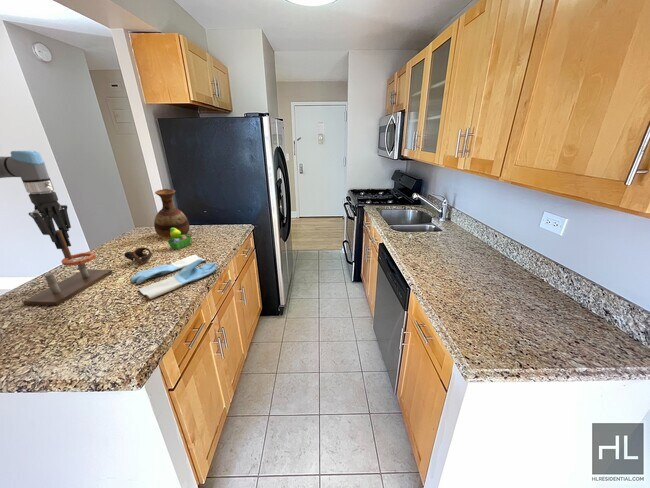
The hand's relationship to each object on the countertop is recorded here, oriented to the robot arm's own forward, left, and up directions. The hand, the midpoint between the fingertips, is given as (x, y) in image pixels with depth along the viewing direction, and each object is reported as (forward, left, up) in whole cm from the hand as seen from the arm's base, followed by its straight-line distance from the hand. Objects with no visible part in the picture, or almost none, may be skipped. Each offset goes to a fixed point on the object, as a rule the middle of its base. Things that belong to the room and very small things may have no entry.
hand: (64, 247), depth 111 cm
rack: (+5, -7, -15) cm, 17 cm away
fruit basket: (+25, +40, -16) cm, 49 cm away
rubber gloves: (+42, +6, -16) cm, 45 cm away
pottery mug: (+16, +19, -16) cm, 29 cm away
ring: (+5, 0, -6) cm, 8 cm away
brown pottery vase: (+10, +59, -16) cm, 62 cm away
